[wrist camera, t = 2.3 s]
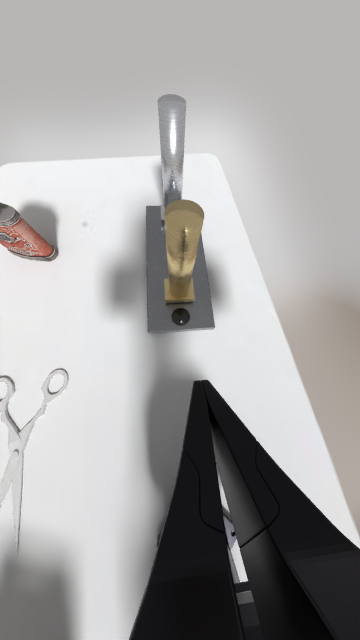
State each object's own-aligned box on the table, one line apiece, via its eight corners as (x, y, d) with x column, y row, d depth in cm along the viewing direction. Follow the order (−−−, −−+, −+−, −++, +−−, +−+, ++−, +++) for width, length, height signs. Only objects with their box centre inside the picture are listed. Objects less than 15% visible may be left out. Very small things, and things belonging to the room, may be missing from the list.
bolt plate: (212, 329, 23) (267, 281, 10) (149, 333, 22) (111, 288, 9) (196, 211, 30) (214, 89, 17) (147, 212, 29) (125, 86, 16)
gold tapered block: (194, 301, 22) (216, 232, 11) (165, 303, 22) (155, 233, 10) (191, 281, 23) (209, 196, 12) (164, 282, 23) (154, 197, 11)
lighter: (8, 256, 25) (-92, 190, 16) (18, 240, 26) (-71, 170, 17) (53, 264, 25) (-21, 203, 16) (61, 248, 26) (-4, 182, 17)
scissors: (69, 357, 21) (47, 558, 15) (73, 358, 21) (53, 548, 16) (-12, 366, 20) (-68, 580, 14) (-5, 366, 21) (-56, 569, 15)
